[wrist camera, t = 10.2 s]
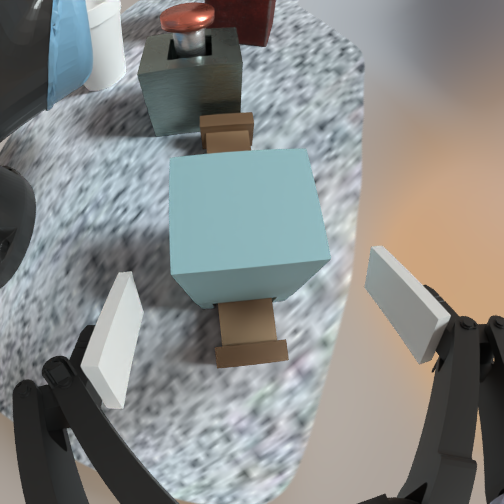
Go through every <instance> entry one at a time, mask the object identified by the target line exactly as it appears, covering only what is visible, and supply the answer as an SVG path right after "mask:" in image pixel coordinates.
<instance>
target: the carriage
mask: <svg viewBox="0 0 504 504" xmlns="http://www.w3.org/2000/svg"><path fill="white" fill-rule="evenodd" d="M169 236H170V267H171V275H172V277H173V278H174V279H175V280H176V281H177V282H178V284H179V285H180V286H181V287H182V288H183V289H184V291H185V292H186V293H187V294H188V295H189V296H190V297H191V298H192V300H193V301H194V302H195V303H196V304H197V305H199V306H200V307H201V308H202V309H210V308H214V303H225V302H235V301H245V300H255V299H264V298H273V302H277V301H285V300H286V299H287V298H288V297H289V296H291V295H293V294H294V293H295V292H296V291H297V290H298V289H299V288H300V287H302V286H303V285H304V284H305V283H306V282H307V281H308V280H309V279H310V278H311V277H312V276H314V275H315V274H316V273H317V272H318V271H319V270H320V269H321V268H322V267H323V266H324V265H325V264H326V263H327V262H329V261H330V260H331V256H330V251H329V246H328V241H327V236H326V231H325V226H324V221H323V217H322V212H321V208H320V203H319V199H318V195H317V190H316V186H315V182H314V178H313V174H312V170H311V166H310V162H309V158H308V154H307V150H306V149H272V150H252V151H236V152H223V153H211V154H201V155H191V156H182V157H174V158H170V171H169Z"/></svg>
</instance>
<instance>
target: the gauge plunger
mask: <svg viewBox="0 0 504 504" xmlns="http://www.w3.org/2000/svg"><path fill="white" fill-rule="evenodd" d="M160 22H161V27H162V29H163V30H165V31H167V32H172V33H173V38H174V45H175V52H176V59H181V58H190V57H200V56H206V48H205V30H204V28H206V27H208V26H209V25H211V24H212V23H213V22H214V8H213V7H212V6H211V5H209V4H205V3H184V4H179V5H176V6H173V7H170V8H168V9H166V10H165V11H163V12H162V13H161V15H160Z"/></svg>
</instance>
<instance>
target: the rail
mask: <svg viewBox="0 0 504 504" xmlns="http://www.w3.org/2000/svg"><path fill="white" fill-rule="evenodd" d="M253 129H254V120H253V114H252V112H248V113H230V114H216V115H205V116H200V132H201V139H202V147H203V149H207V154H211V153H223V152H236V151H251V146H252V139H253ZM218 310H219V319H220V329H221V338H222V347H215V355H216V364H217V368H227V367H238V366H247V365H256V364H264V363H271V362H279V361H286V360H289V359H288V351H287V343H286V339H285V340H277V336H276V328H275V320H274V312H273V305H272V298H264V299H255V300H245V301H235V302H225V303H218Z"/></svg>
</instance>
